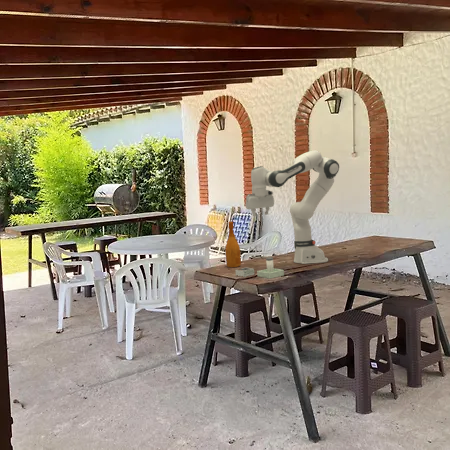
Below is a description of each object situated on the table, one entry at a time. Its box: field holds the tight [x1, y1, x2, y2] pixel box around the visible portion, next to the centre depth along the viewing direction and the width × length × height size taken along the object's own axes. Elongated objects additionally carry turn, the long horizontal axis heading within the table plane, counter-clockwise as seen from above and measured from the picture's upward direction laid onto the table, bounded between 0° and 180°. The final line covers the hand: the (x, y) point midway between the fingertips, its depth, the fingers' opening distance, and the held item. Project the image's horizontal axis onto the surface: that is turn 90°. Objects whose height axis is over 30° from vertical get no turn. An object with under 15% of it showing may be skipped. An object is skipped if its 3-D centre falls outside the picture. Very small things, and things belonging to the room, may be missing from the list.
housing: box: [235, 266, 255, 278], centre depth 308 cm, size 8×8×4 cm
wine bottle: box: [224, 221, 242, 268], centre depth 337 cm, size 10×10×30 cm
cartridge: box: [265, 257, 275, 273], centre depth 299 cm, size 4×4×10 cm
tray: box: [256, 268, 285, 279], centre depth 300 cm, size 11×11×3 cm
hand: (260, 215), depth 317 cm, fingers open, 8 cm apart
